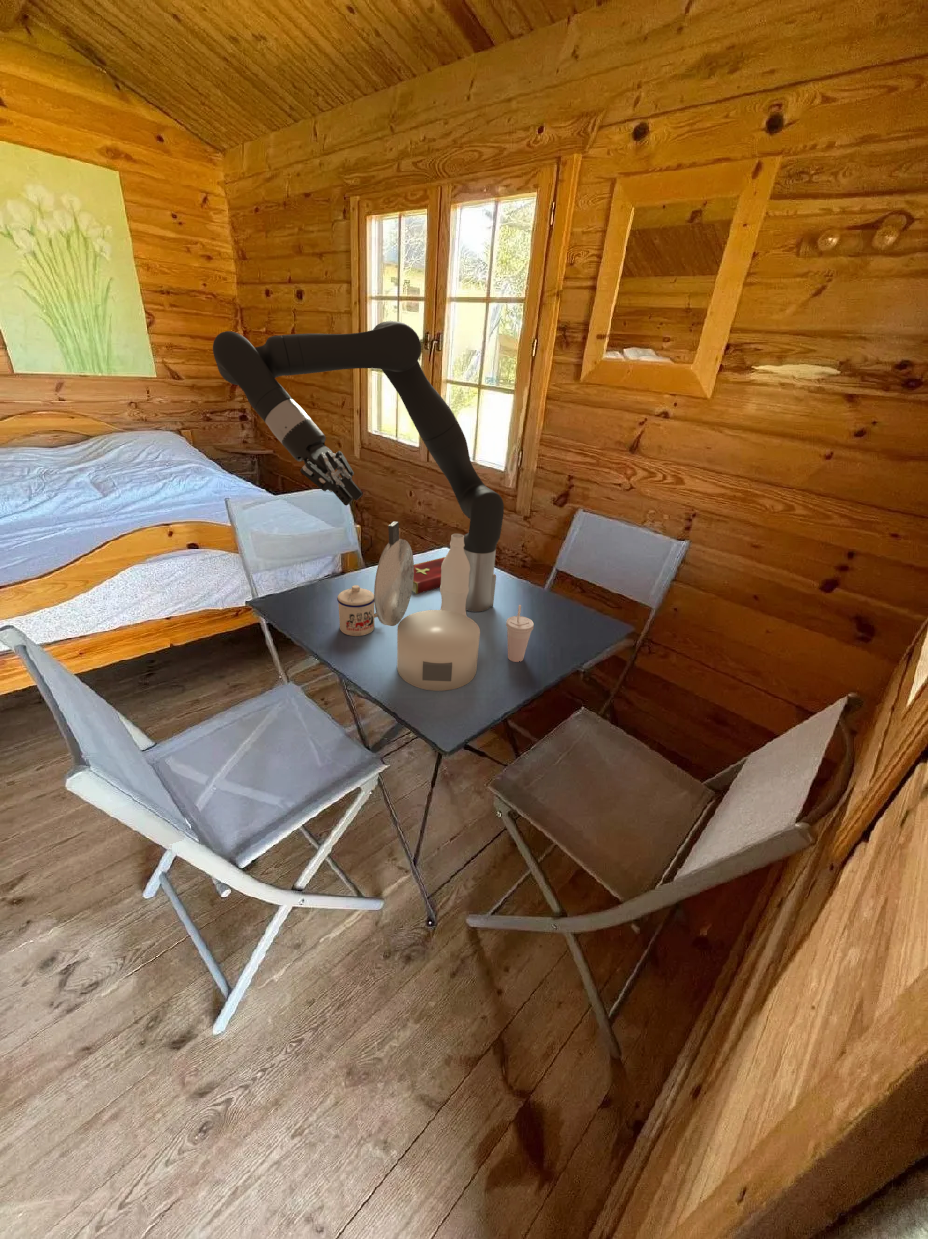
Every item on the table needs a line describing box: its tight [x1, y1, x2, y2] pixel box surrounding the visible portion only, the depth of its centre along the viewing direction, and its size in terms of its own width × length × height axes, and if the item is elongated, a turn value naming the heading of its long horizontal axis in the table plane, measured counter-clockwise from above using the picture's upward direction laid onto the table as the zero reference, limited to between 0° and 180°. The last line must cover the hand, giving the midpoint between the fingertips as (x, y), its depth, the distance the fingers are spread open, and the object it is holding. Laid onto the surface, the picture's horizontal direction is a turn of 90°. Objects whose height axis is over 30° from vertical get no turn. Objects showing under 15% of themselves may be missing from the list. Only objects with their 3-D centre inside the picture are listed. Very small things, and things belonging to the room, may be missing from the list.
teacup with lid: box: [336, 584, 378, 637], centre depth 128 cm, size 12×9×12 cm
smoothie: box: [505, 604, 535, 663], centre depth 120 cm, size 6×6×14 cm
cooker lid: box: [373, 521, 415, 627], centre depth 109 cm, size 22×19×2 cm
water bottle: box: [439, 533, 470, 617], centre depth 128 cm, size 7×7×25 cm
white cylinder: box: [396, 609, 481, 692], centre depth 115 cm, size 18×19×10 cm
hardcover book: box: [412, 556, 446, 595], centre depth 159 cm, size 12×21×4 cm, turn 130°
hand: (354, 499), depth 104 cm, fingers open, 3 cm apart
